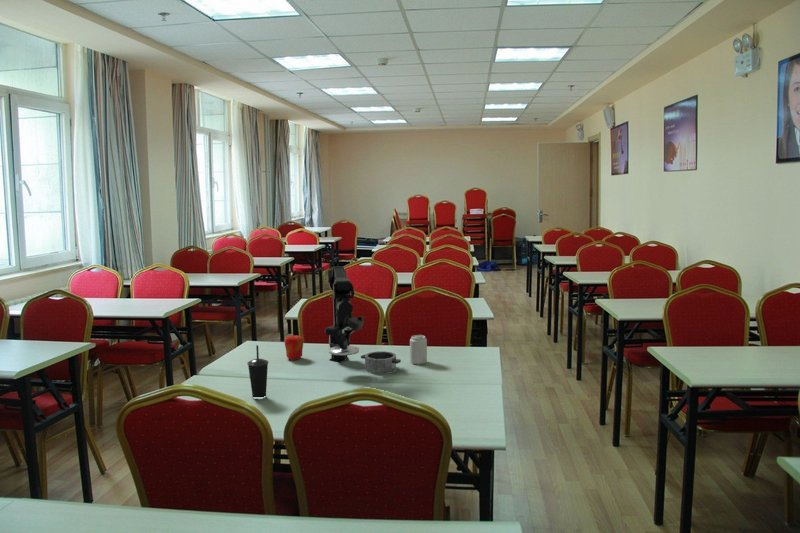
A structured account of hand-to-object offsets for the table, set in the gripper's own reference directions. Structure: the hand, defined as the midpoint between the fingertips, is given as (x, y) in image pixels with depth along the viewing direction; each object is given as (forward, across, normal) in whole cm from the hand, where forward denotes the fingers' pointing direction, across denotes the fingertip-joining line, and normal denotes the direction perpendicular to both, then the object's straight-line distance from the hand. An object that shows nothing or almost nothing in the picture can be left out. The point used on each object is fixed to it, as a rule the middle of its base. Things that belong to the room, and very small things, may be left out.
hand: (343, 347), depth 264 cm
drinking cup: (+12, -39, +12) cm, 42 cm away
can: (+12, +29, -20) cm, 37 cm away
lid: (+2, 0, 0) cm, 2 cm away
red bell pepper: (+12, +9, +33) cm, 36 cm away
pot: (+11, +13, -10) cm, 20 cm away
